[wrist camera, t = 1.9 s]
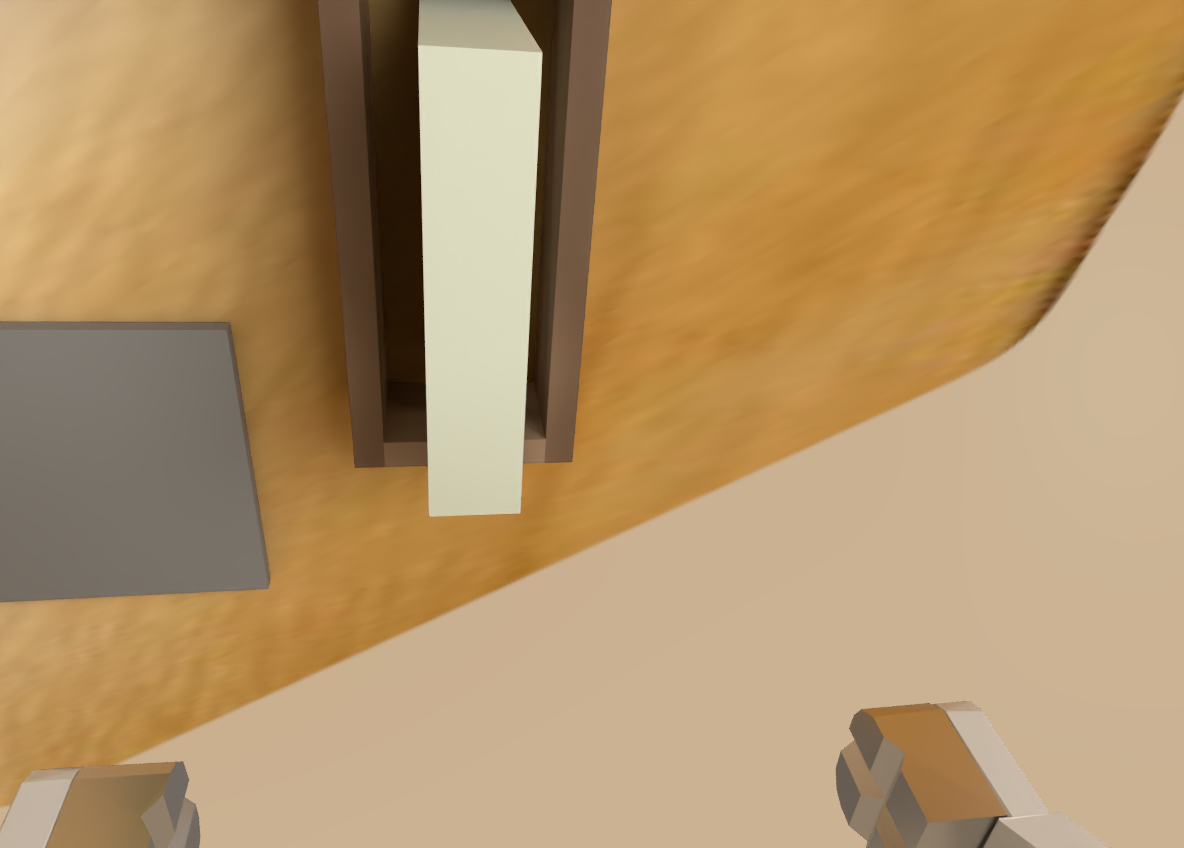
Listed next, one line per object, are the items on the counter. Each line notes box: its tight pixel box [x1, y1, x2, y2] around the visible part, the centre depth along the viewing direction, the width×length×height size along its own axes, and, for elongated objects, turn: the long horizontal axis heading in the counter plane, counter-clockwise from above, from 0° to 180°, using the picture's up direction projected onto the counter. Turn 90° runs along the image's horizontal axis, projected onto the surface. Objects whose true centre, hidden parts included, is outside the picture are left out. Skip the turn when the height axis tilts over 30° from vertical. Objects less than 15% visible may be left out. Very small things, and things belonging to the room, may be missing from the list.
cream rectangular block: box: [418, 0, 542, 517], centre depth 25 cm, size 2×12×10 cm, turn 175°
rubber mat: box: [0, 322, 270, 602], centre depth 32 cm, size 12×12×1 cm
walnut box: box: [318, 0, 612, 468], centre depth 27 cm, size 8×17×4 cm, turn 175°
